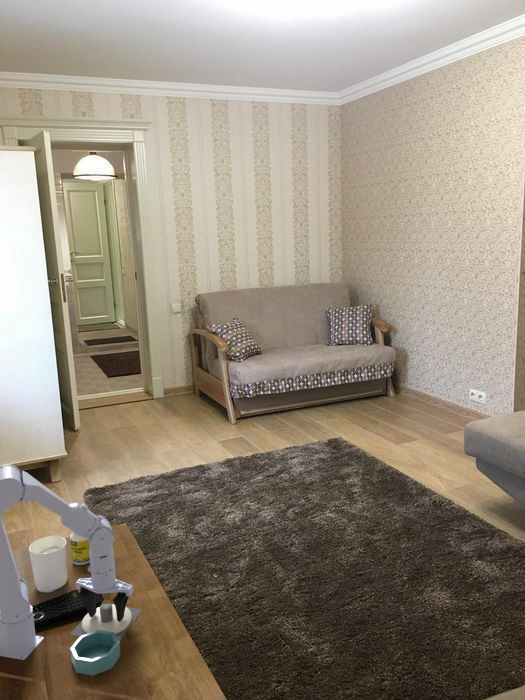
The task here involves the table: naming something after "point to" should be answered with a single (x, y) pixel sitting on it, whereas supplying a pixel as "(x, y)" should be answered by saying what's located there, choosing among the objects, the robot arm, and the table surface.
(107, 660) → the bowl
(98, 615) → the lid
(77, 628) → the mat
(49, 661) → the table surface
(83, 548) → the pill bottle
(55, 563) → the candle holder
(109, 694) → the table surface
